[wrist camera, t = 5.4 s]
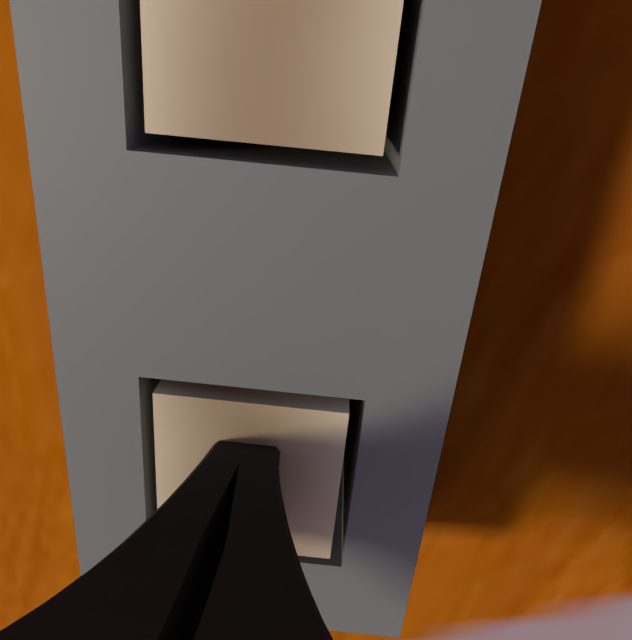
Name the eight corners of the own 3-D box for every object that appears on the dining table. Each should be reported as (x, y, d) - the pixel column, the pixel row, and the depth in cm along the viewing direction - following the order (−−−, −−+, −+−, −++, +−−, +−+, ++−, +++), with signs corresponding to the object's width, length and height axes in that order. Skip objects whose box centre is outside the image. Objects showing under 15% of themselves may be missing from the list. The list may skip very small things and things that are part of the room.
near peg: (399, -76, 11) (423, -147, 7) (373, 136, 12) (383, 155, 9) (199, -95, 11) (132, -173, 7) (199, 119, 12) (145, 132, 9)
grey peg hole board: (527, -225, 10) (632, -405, 6) (388, 519, 17) (399, 638, 14) (96, -263, 10) (-48, -461, 6) (140, 493, 17) (84, 603, 14)
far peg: (348, 336, 14) (349, 413, 11) (333, 459, 16) (329, 559, 12) (197, 321, 14) (152, 393, 11) (197, 445, 16) (158, 540, 13)
